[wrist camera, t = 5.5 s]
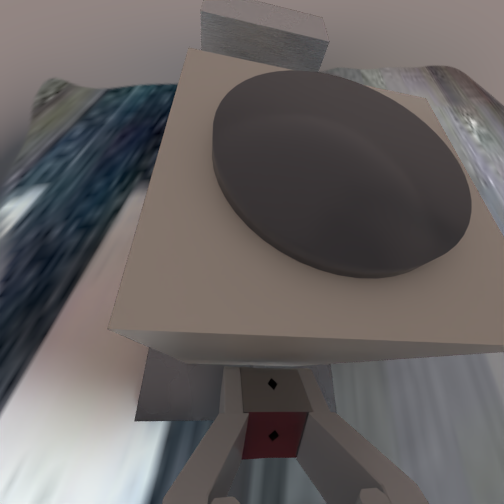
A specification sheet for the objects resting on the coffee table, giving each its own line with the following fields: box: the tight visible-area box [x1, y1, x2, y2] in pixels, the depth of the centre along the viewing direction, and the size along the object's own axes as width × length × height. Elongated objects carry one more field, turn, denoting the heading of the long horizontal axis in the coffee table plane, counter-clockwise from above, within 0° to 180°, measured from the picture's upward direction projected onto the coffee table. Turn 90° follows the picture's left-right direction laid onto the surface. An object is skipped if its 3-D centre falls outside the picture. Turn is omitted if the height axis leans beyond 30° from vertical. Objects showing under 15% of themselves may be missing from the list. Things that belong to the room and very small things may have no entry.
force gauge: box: [108, 48, 504, 366], centre depth 10 cm, size 9×6×11 cm, turn 0°
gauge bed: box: [135, 0, 337, 421], centre depth 15 cm, size 27×10×8 cm, turn 0°
